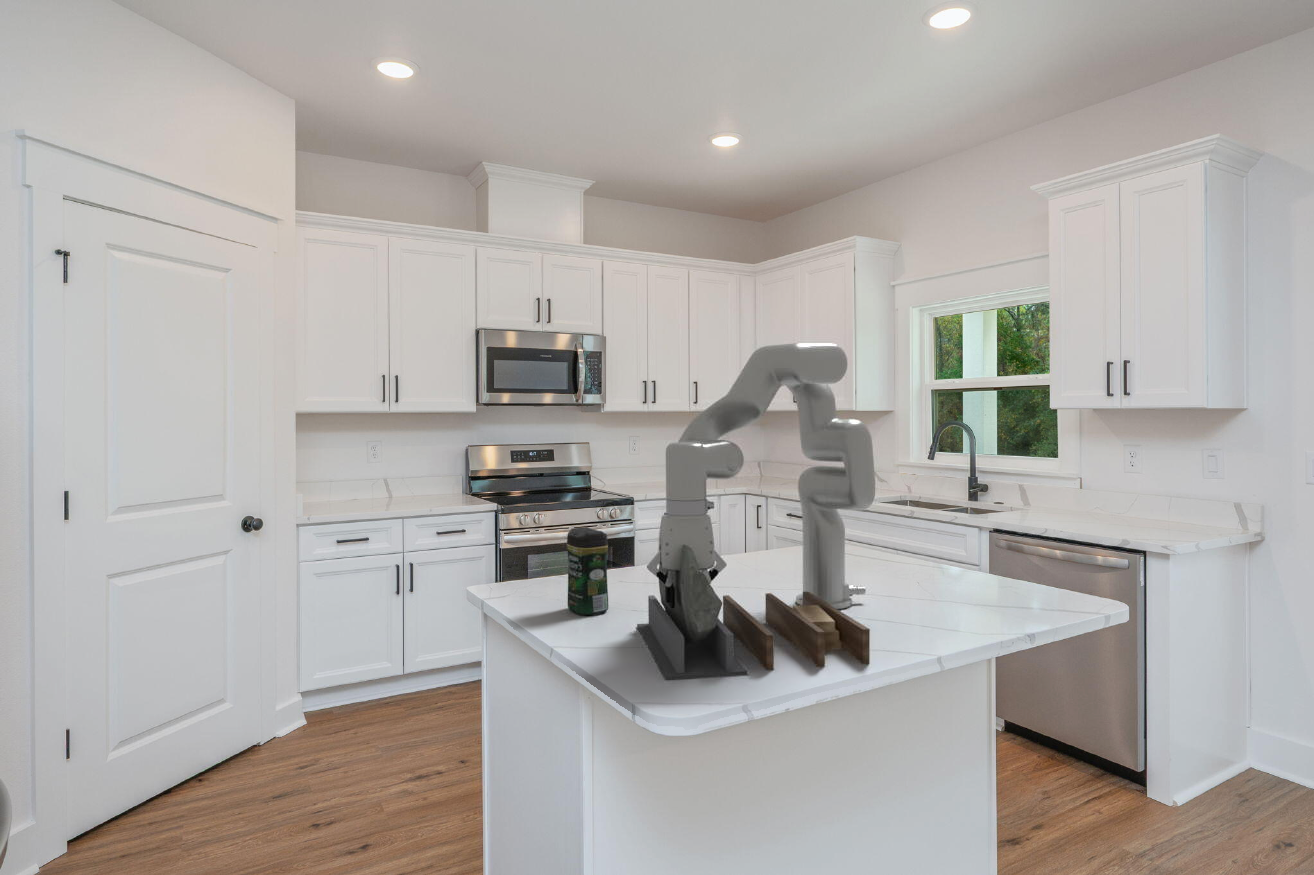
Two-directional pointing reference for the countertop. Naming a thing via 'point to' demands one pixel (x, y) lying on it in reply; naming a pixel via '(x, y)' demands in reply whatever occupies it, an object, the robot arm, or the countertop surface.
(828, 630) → the offcut
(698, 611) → the rock
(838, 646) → the offcut
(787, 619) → the walnut rack
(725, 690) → the countertop surface
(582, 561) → the coffee jar
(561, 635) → the countertop surface
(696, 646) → the slab stand
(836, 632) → the offcut
